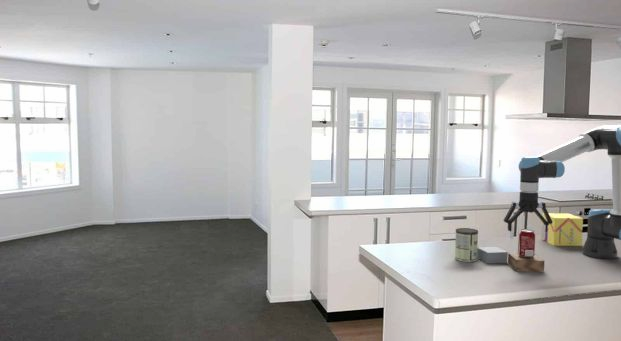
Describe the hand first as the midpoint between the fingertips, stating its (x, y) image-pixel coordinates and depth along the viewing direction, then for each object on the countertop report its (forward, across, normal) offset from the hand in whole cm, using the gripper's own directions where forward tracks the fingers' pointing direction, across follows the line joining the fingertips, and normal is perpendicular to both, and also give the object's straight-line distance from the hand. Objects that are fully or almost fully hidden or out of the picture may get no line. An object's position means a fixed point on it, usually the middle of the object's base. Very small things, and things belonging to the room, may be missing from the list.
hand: (527, 238), depth 220 cm
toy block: (+14, -35, -55) cm, 66 cm away
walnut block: (+13, 0, 0) cm, 13 cm away
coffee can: (+13, +24, -11) cm, 30 cm away
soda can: (+8, 0, 0) cm, 9 cm away
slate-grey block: (+13, +12, -11) cm, 21 cm away
